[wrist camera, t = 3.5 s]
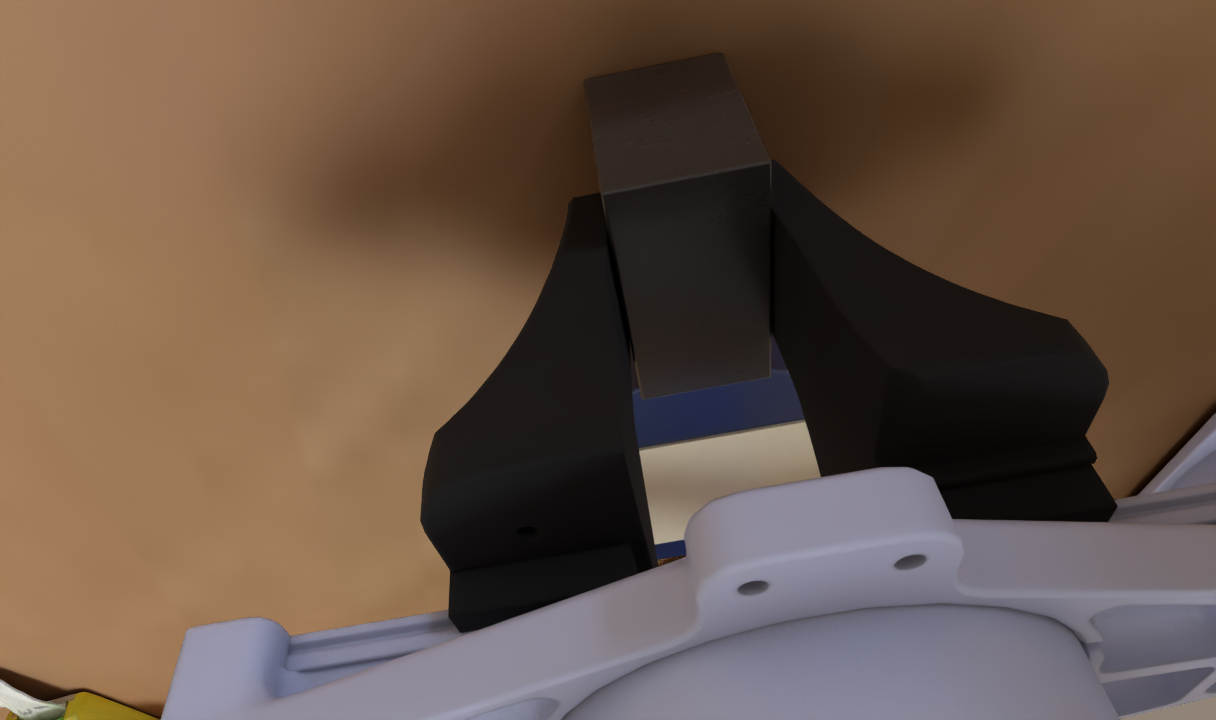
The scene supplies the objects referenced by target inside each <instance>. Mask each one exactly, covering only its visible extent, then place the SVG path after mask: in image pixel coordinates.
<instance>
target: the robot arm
mask: <svg viewBox="0 0 1216 720" xmlns="http://www.w3.org/2000/svg"><path fill="white" fill-rule="evenodd" d="M771 162H772V334H773V336H774V338H775V341H776V343H777V346H778V348H779V350H780V353H781V355H782V357H783V360H784V362H785V365H786V367H787V369H788V372H789V374H790V376H791V379H792V381H793V384H794V387H795V390H796V392H797V395H798V398H799V401H800V405H801V408H802V411H803V415H804V418H805V422H806V425H807V429H808V432H809V435H810V439H811V443H812V446H813V450H814V453H815V457H816V461H817V464H818V468H819V471H820V475H821V477H820V478H814V479H808V480H802V481H797V482H791V483H785V484H779V485H773V486H767V487H761V488H755V489H749V490H744V491H739V492H736V493H733V494H730V495H726V496H723V497H720V498H717V499H714V500H712V501H711V502H709V503H708V504H706V505H705V506H704V507H702V508H701V509H700V510H698V511H697V512H696V513H694V514H693V515H692V516H691V517H690V518H689V521H688V524H687V527H686V530H685V533H684V540H685V546H686V557H684V558H681V559H679V560H676V561H673V562H670V563H667V564H664V565H662V566H659V567H658V561H657V555H656V549H655V543H654V537H653V531H652V525H651V519H650V513H649V507H648V501H647V495H646V489H645V483H644V477H643V471H642V465H641V459H640V453H639V447H638V440H637V434H636V428H635V419H634V410H633V395H632V377H631V360H630V344H629V335H628V330H627V325H626V320H625V315H624V310H623V305H622V300H621V294H620V289H619V284H618V279H617V274H616V269H615V264H614V259H613V254H612V249H611V244H610V239H609V234H608V229H607V224H606V219H605V214H604V209H603V204H602V199H601V194H600V193H596V194H591V195H585V196H580V197H575V198H573V199H572V200H571V201H570V203H569V204H568V213H567V218H566V223H565V227H564V231H563V234H562V238H561V241H560V245H559V248H558V250H557V253H556V256H555V259H554V262H553V265H552V268H551V270H550V273H549V275H548V278H547V280H546V282H545V284H544V287H543V289H542V291H541V294H540V296H539V298H538V300H537V302H536V304H535V306H534V308H533V310H532V312H531V314H530V316H529V318H528V320H527V321H526V323H525V325H524V327H523V328H522V330H521V332H520V334H519V335H518V337H517V338H516V340H515V341H514V343H513V344H512V346H511V348H510V349H509V351H508V352H507V354H506V355H505V357H504V358H503V359H502V361H501V362H500V364H499V365H498V366H497V368H496V369H495V370H494V371H493V373H492V374H491V375H490V376H489V378H488V379H487V380H486V381H485V382H484V384H483V385H482V386H481V387H480V388H479V390H478V391H477V392H476V393H475V394H474V396H473V397H472V398H471V399H470V400H469V401H468V402H467V403H466V404H465V405H464V406H463V407H462V408H461V409H460V410H459V411H458V412H457V413H456V414H455V415H454V416H453V417H452V418H451V419H450V420H449V421H448V422H447V423H446V424H445V425H444V426H442V427H441V428H440V429H439V430H438V431H437V432H436V433H435V435H434V438H433V441H432V445H431V448H430V452H429V455H428V460H427V465H426V468H425V473H424V479H423V488H422V503H421V519H420V521H421V524H422V526H423V529H424V531H425V533H426V535H427V536H428V538H429V539H430V541H431V542H432V544H433V545H434V547H435V548H436V550H437V551H438V553H439V554H440V556H441V557H442V559H443V560H444V562H445V563H446V565H447V566H448V568H449V569H450V590H449V610H444V611H438V612H432V613H426V614H420V615H414V616H408V617H402V618H396V619H390V620H384V621H378V622H372V623H366V624H360V625H354V626H348V627H342V628H335V629H329V630H323V631H317V632H311V633H305V634H299V635H293V636H290V635H289V634H288V633H287V631H286V630H285V629H284V628H283V627H282V626H281V625H280V624H279V623H277V622H275V621H273V620H271V619H268V618H262V617H248V618H242V619H236V620H230V621H224V622H218V623H212V624H206V625H200V626H194V627H191V628H190V629H188V630H187V631H186V633H185V636H184V640H183V643H182V647H181V650H180V653H179V657H178V660H177V664H176V667H175V671H174V674H173V678H172V681H171V685H170V688H169V692H168V695H167V699H166V702H165V706H164V709H163V713H162V716H161V720H1120V719H1123V718H1127V717H1131V716H1136V715H1140V714H1144V713H1148V712H1152V711H1156V710H1161V709H1165V708H1169V707H1173V706H1178V705H1182V704H1186V703H1190V702H1195V701H1199V700H1203V699H1207V698H1211V697H1215V696H1216V413H1215V414H1214V415H1213V416H1212V417H1211V418H1210V419H1209V420H1208V421H1207V422H1206V423H1205V424H1204V425H1203V426H1202V428H1201V429H1200V430H1199V431H1198V432H1197V433H1196V434H1195V435H1194V436H1193V437H1192V438H1191V439H1190V440H1189V441H1188V442H1187V443H1186V444H1185V446H1184V447H1183V448H1182V449H1181V450H1180V451H1179V452H1178V453H1177V454H1176V455H1175V456H1174V457H1173V458H1172V459H1171V460H1170V461H1169V462H1168V463H1167V465H1166V466H1165V467H1164V468H1163V469H1162V470H1161V471H1160V472H1159V473H1158V474H1157V475H1156V476H1155V477H1154V478H1153V479H1152V480H1151V481H1150V483H1149V484H1148V485H1147V486H1146V487H1145V488H1144V489H1143V490H1142V491H1141V492H1140V493H1139V494H1138V495H1137V496H1133V497H1127V498H1121V499H1115V500H1114V499H1113V497H1112V496H1111V494H1110V493H1109V491H1108V490H1107V488H1106V487H1105V485H1104V483H1103V482H1102V480H1101V479H1100V477H1099V476H1098V474H1097V473H1096V471H1095V469H1094V468H1093V466H1092V465H1091V464H1094V463H1095V461H1096V459H1097V456H1096V452H1095V450H1094V449H1093V447H1092V446H1091V444H1090V443H1089V441H1088V440H1087V438H1086V437H1085V435H1086V433H1087V431H1088V429H1089V427H1090V425H1091V423H1092V421H1093V419H1094V417H1095V415H1096V413H1097V411H1098V409H1099V407H1100V405H1101V403H1102V401H1103V399H1104V397H1105V394H1106V391H1107V388H1108V385H1109V379H1108V373H1107V369H1106V368H1105V367H1104V365H1103V364H1102V363H1101V361H1100V360H1099V358H1098V357H1097V356H1096V354H1095V353H1094V351H1093V350H1092V349H1091V347H1090V346H1089V345H1088V343H1087V342H1086V341H1085V339H1084V338H1083V337H1082V336H1081V335H1080V334H1079V333H1078V331H1077V330H1076V329H1075V328H1074V327H1073V326H1072V325H1071V323H1070V322H1069V321H1068V320H1067V319H1063V318H1059V317H1055V316H1052V315H1048V314H1044V313H1041V312H1037V311H1033V310H1030V309H1026V308H1022V307H1018V306H1015V305H1012V304H1008V303H1005V302H1003V301H1000V300H997V299H994V298H991V297H988V296H985V295H982V294H980V293H977V292H974V291H972V290H969V289H967V288H964V287H961V286H959V285H957V284H954V283H952V282H950V281H948V280H945V279H943V278H941V277H939V276H936V275H934V274H932V273H930V272H928V271H926V270H924V269H922V268H920V267H918V266H916V265H914V264H912V263H910V262H908V261H906V260H905V259H903V258H901V257H899V256H898V255H896V254H894V253H892V252H890V251H889V250H887V249H885V248H884V247H882V246H880V245H879V244H877V243H876V242H874V241H873V240H871V239H870V238H868V237H867V236H865V235H864V234H862V233H861V232H860V231H858V230H857V229H855V228H854V227H853V226H851V225H850V224H849V223H847V222H846V221H845V220H843V219H842V218H841V217H840V216H838V215H837V214H836V213H835V212H833V211H832V210H831V209H830V208H828V207H827V206H826V205H825V204H823V203H822V202H821V201H820V200H819V199H818V198H816V197H815V196H814V195H813V194H812V193H811V192H810V191H808V190H807V189H806V188H805V187H804V186H803V185H802V184H801V183H800V182H798V181H797V180H796V179H795V178H794V177H793V176H792V175H791V174H790V173H789V172H788V171H787V170H786V169H784V168H783V167H782V166H781V165H780V164H779V163H778V162H776V161H775V160H771Z"/></svg>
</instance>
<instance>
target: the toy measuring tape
mask: <svg viewBox="0 0 1216 720" xmlns="http://www.w3.org/2000/svg"><path fill="white" fill-rule="evenodd" d="M0 707H6V708H8V709H10V710H11V712H10V713H9V714H8V716H7V718H6V720H160V719H157V718H155V717H152V716H150V715H147V714H145V713H142V712H140V711H137V710H134V709H132V708H129V707H127V706H124V705H121V704H119V703H116V702H113V701H110V700H108V699H105V698H102V697H100V696H97V695H94V694H91V693H87V692H80V693H77V694H72V695H68V696H65V697H62V698H58V699H54V700H50V701H42V700H38V699H36V698H33V697H31V696H29V695H27V694H26V693H24V692H22V691H19V690H17V689H15V688H13V687H12V686H10V685H9V684H7V683H6V682H4V681H3V680H1V679H0Z"/></svg>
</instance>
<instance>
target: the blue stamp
mask: <svg viewBox="0 0 1216 720" xmlns="http://www.w3.org/2000/svg"><path fill="white" fill-rule="evenodd" d="M583 85H584V91H585V98H586V104H587V111H588V117H589V123H590V130H591V136H592V143H593V149H594V155H595V162H596V168H597V174H598V181H599V187H600V194H601V199H602V204H603V209H604V214H605V219H606V224H607V229H608V234H609V239H610V244H611V249H612V254H613V259H614V264H615V269H616V274H617V279H618V284H619V289H620V294H621V300H622V305H623V310H624V315H625V320H626V325H627V330H628V335H629V344H630V360H631V377H632V395H633V410H634V419H635V428H636V434H637V440H638V447H639V453H640V459H641V465H642V471H643V477H644V483H645V489H646V495H647V501H648V507H649V513H650V519H651V525H652V531H653V537H654V543H655V549H656V555H657V560H658V559H664V558H670V557H676V556H682V555H686V546H685V540H684V533H685V530H686V527H687V524H688V521H689V518H690V517H691V516H692V515H693V514H694V513H696V512H697V511H698V510H700V509H701V508H702V507H704V506H705V505H706V504H708V503H709V502H711V501H712V500H714V499H717V498H720V497H723V496H726V495H730V494H733V493H736V492H739V491H744V490H749V489H755V488H761V487H767V486H773V485H779V484H785V483H791V482H797V481H802V480H808V479H814V478H820V477H821V475H820V471H819V468H818V464H817V461H816V457H815V453H814V450H813V446H812V443H811V439H810V435H809V432H808V429H807V425H806V422H805V418H804V415H803V411H802V408H801V405H800V401H799V398H798V395H797V392H796V390H795V387H794V384H793V381H792V379H791V376H790V374H789V372H788V369H787V367H786V365H785V362H784V360H783V357H782V355H781V353H780V350H779V348H778V346H777V343H776V341H775V338H774V336H773V334H772V162H771V159H770V157H769V155H768V153H767V150H766V148H765V146H764V143H763V141H762V139H761V137H760V134H759V132H758V130H757V128H756V125H755V123H754V121H753V118H752V116H751V114H750V112H749V109H748V107H747V105H746V103H745V100H744V98H743V96H742V93H741V91H740V89H739V87H738V84H737V82H736V80H735V78H734V75H733V73H732V71H731V68H730V66H729V64H728V62H727V59H726V57H725V55H724V53H718V54H713V55H708V56H703V57H698V58H693V59H688V60H682V61H677V62H672V63H667V64H662V65H657V66H652V67H647V68H642V69H637V70H632V71H627V72H622V73H617V74H612V75H607V76H602V77H597V78H592V79H587V80H585V81H584V83H583Z"/></svg>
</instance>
